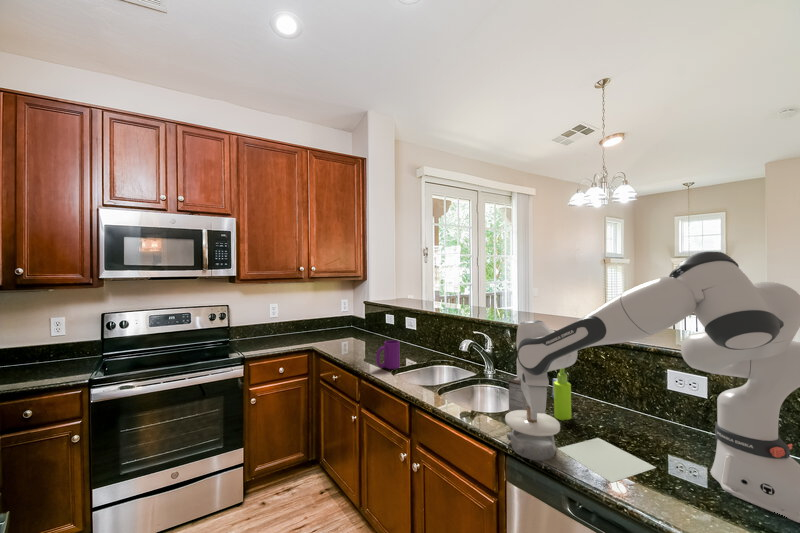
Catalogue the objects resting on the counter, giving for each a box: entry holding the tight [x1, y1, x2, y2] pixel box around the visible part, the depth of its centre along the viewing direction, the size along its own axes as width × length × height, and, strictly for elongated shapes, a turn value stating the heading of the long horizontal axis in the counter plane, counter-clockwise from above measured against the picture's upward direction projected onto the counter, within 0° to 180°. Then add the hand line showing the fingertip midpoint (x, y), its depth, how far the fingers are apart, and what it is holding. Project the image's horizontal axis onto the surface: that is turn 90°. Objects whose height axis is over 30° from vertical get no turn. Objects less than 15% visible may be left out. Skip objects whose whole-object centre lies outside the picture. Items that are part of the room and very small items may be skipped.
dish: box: [506, 429, 557, 461], centre depth 104 cm, size 14×14×5 cm
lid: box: [504, 406, 561, 436], centre depth 104 cm, size 16×16×5 cm
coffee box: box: [507, 375, 527, 413], centre depth 123 cm, size 9×6×16 cm
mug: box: [375, 339, 401, 370], centre depth 193 cm, size 9×16×15 cm, turn 129°
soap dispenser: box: [553, 368, 572, 421], centre depth 127 cm, size 6×7×20 cm
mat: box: [556, 437, 657, 483], centre depth 99 cm, size 18×18×1 cm
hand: (532, 415), depth 104 cm, fingers closed on lid, 3 cm apart
